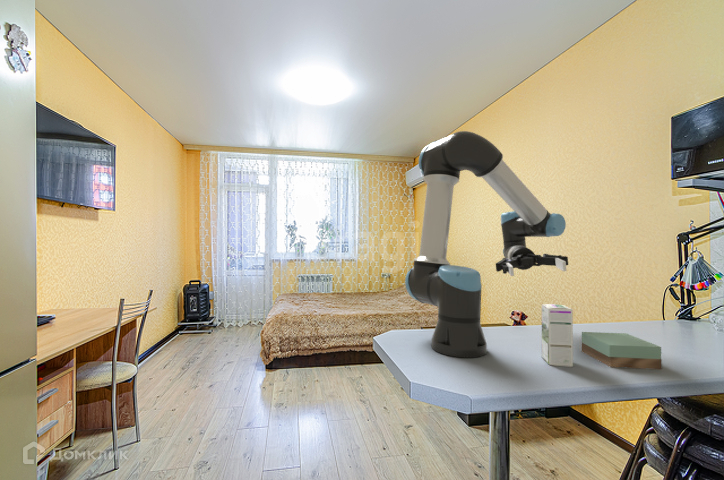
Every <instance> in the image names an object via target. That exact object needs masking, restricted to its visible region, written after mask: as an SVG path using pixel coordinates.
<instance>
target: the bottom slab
mask: <svg viewBox="0 0 724 480" xmlns="http://www.w3.org/2000/svg"><path fill="white" fill-rule="evenodd" d="M581 352H582V353H584V354H585V355H587V356H589V357H591V358H593V359H595V360H597V361H598V360H599V362H600V361H601V363H602V364H604V365H606V366H608V367H609V366H610V367H609V368H619V367H627V368H626V369H646V368H649V369H650V370H651V369H652V370H662V361H663V360H662V358H661V359H644V358H620V357H608V356H606V355H605V354H603V353H601V352H599V351H597V350H595V349H593V348H591V347H589V346H588V345H586V344H584V343H582V342H581Z"/></svg>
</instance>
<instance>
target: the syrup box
mask: <svg viewBox="0 0 724 480" xmlns="http://www.w3.org/2000/svg"><path fill="white" fill-rule="evenodd" d="M573 312H574V311H573V309H572V308H570V307H568V306H567V305H564V304H557V303H556V304H555V303H546V304H543V303H542V304H541V358H542V359H543V360H544V361H545V362H546V364H548V365H549V366H554V367H566V368H567V367H569V368H572V367H574V333H573V332H574V329H573V328H574V327H573V326H574V325H573V323H574V321H573V316H574V315H573Z"/></svg>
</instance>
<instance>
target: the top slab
mask: <svg viewBox="0 0 724 480" xmlns="http://www.w3.org/2000/svg"><path fill="white" fill-rule="evenodd" d="M582 343H584V344H586V345H588V346H589V347H591V348H593V349H595V350H597V351H599V352H601V353H603V354H605V355H606V356H608V357H620V358H644V359H662V346H659V345H657V344H654V343H652V342H649V341H647V340H644V339H642V338H640V337H637V336H634V335H632V334H629V333H623V332H621V333H620V332H600V331H599V332H597V331H596V332H594V331H593V332H592V331H581V344H582Z"/></svg>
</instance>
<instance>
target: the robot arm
mask: <svg viewBox="0 0 724 480" xmlns="http://www.w3.org/2000/svg"><path fill="white" fill-rule="evenodd" d="M503 158H504V155H503V153H502V151H500V150H499V148H498V147H497V146H495V144H493V143H492V142H491V141H490V140H488V139H487V138H485V137H484V136H482V135H480V134H478V133H475V132H471V131H468V130H461V131H456V132H454V133H451V134H449V135H448V136H444V137H442V138H440V139H437V140H434V141H432V142H431V143H429V144H427V145H426V146H425V147H424V148H423V149H422V150H421V152H420V154H419V156H418V167H419V170H421V171H420V172H421V174H422V175H423V177H422V178H423V180H424V183H426V190H425V191H426V192H425V201H424V212H423V217H422V218H423V220H422V230H421V237H420V249H419V254H418V256H417V257H416V258H415V259H414V261H413V267H412V268H411V267H410V269H409V271H407V273H406V275H405V279H404V284H405V289H406V291H407V294H408V295H409V296H410V297H411V298H412V299H414V300H415V301H417V302H419V303H421V304H426V305H432V306H433V307H437V309H438V311H437V322H436V326H435V328H434V331H433V334H432V337H431V348H432V349H433V351H435V352H437V353H439V354H442V355H445V356H450V357H456V358H477V357H478V358H479V357H482V356H485V355H486V354H487V353H488V352H487V350H488V349H487V348H488V345H487V340H486V338H485V334H484V332H483V328H482V323H481V312H482V311H481V307H482V306H481V305H482V286H483V285H482V282H481V281H482V280H481V279H482V278H481V273H479V271H478V270H476V269H474V268H471V267H468V266H461V265H454V264H452V265H451V263H450V262H449V260H448V259H447V253H448V245H449V244H448V243H449V233H450V225H451V224H450V223H451V216H452V215H451V214H452V205H453V198H454V197H453V195H454V186H456V185H457V184H458V183H459V182H460V178H461V177H460V174H461V171H469V172H471V173H472V174H473V175H475V176H476V178H482V179H483V180H484V181H485V182H486V183H487V184H488V185H489V187H490V188H492V189H493V191H494V192H496V194H497V195H498V196H499V197H500V198H501V199H502V200H503V201H504V202H505V203H506V204H507V205H508V206H509V207H510V209H512V211H507V212H503V213H501V214H500V225H501V232H502V233H501V235H502V238H503V239H502V240H503V241H502V242H503V243H502V244H503V249H502V255H503V256H504V257H503V258H502V259H500V260H499V261H497V262H495V271H496V272H501V271H502V274H504V275H505V274H507V273H508V274H509V275H510V276H511V277H513V276H514V277H515V274H514V272H515V271H514V269H518V270H522V271H526V270H529V269H531V268H532V267H540V266H553V267H555V268H557V269H558V270H560V271H562V272H567V266H569V258H568V256H565V255H564V256H563V255H562V254H560V255H556V254H549V253H543V255H540V254H536V253H535V252H534V251H533V250H532V249H530V248H528V247H527V245H526V244H527V241H526V238H529V237H531V238H533V237H534V238H535V237H536V238H537V237H539V238H540V237H541V238H550V237H559V236H561V235H563V233H564V232H565V229H566V227H567V226H566V225H567V224H566V220H565V216H564V215H562V214H560V213H556V212H555V213H554V212H553V213H550V211H548V209H547V208H546V207H545V206H544V205H543V204H542V202H541V201H540V200H539V199H538V198H537V197H536V196H535V195H534V194H533V192H532V191H531V190H530V189H529V188H528V187H527V186H526V185H525V184H524V183H523V181H522V180H521V179H520V178H519V177H518V176H517V174H516V173H515V172H514V171H513V170H512V169H511V168H510V167H509V166H508V165H507V163H506V162H505V161H504V160H503Z"/></svg>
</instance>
